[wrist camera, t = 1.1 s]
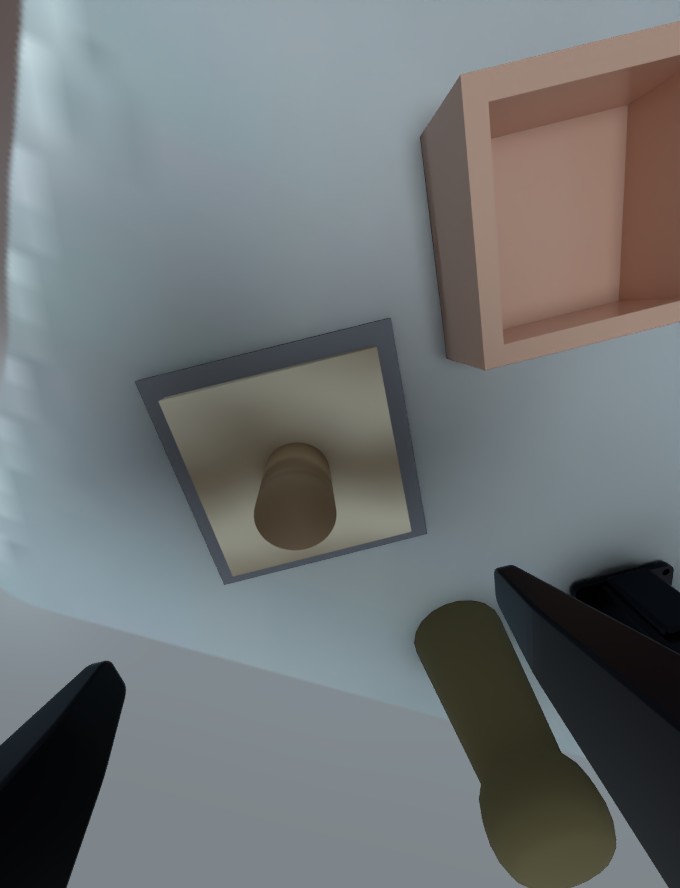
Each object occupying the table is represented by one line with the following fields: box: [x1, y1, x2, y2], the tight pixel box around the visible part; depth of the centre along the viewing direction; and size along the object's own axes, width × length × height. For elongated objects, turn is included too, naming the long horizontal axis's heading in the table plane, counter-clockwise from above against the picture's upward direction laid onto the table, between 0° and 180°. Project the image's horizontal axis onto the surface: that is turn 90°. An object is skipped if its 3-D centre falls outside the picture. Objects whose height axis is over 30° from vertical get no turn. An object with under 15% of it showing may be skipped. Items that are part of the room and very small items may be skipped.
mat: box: [135, 318, 427, 585], centre depth 19 cm, size 12×12×1 cm
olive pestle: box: [414, 601, 616, 888], centre depth 19 cm, size 6×6×11 cm
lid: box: [158, 346, 411, 576], centre depth 16 cm, size 10×10×5 cm
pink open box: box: [420, 21, 680, 370], centre depth 14 cm, size 9×9×4 cm
